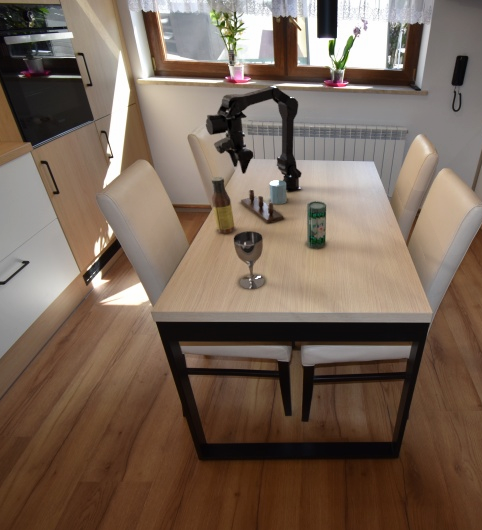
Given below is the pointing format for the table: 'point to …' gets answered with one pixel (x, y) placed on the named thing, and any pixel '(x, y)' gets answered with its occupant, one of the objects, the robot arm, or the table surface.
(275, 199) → the cup
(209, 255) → the table surface
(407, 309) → the table surface
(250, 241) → the wine glass
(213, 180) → the sauce bottle
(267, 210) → the rack
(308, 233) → the can
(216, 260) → the table surface
